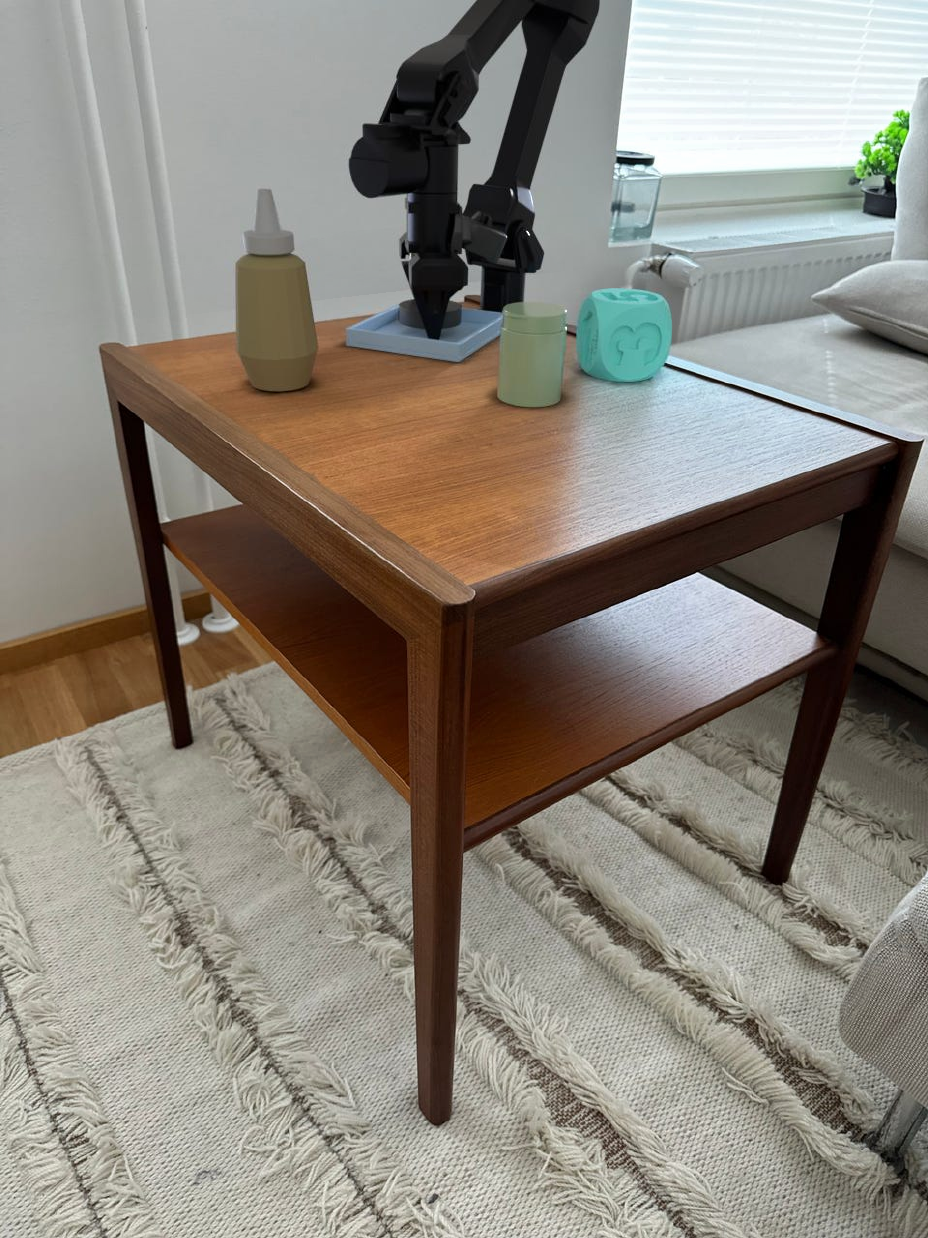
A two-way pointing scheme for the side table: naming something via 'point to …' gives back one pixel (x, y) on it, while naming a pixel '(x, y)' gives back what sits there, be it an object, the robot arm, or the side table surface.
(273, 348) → the squeeze bottle
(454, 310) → the lid
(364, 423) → the side table surface
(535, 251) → the robot arm
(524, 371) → the jar
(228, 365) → the side table surface
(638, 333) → the decorative dice
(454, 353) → the tray
